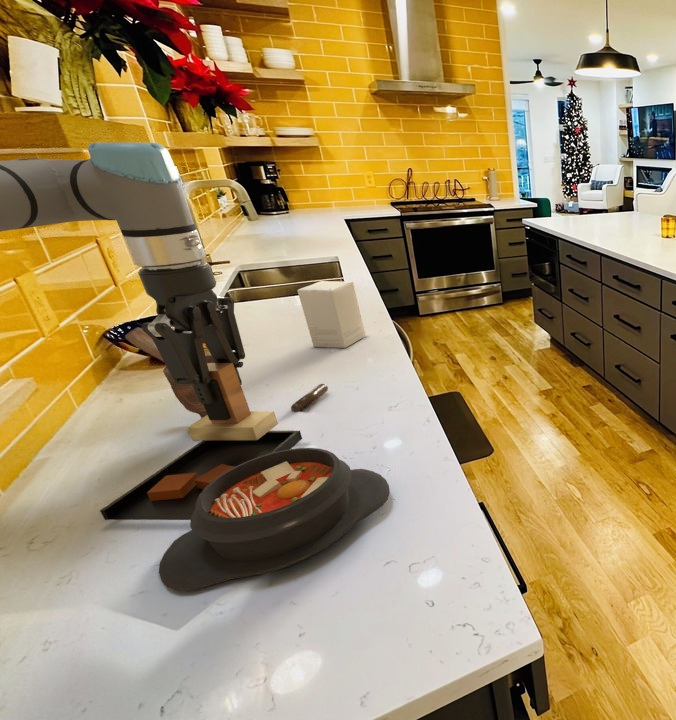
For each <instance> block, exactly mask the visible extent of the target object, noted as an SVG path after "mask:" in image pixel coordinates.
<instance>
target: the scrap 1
mask: <svg viewBox="0 0 676 720" xmlns="http://www.w3.org/2000/svg"><path fill="white" fill-rule="evenodd" d="M198 477H199V476H198V474H197V473H187V474H177V475H166V476H165V477H164V478H163V479H162V480H161V481H159V482H158V483H157V484H156V485H155V486H154V487H153V488H152V489H150V490H149V491H148V492H147V494H148V496H149V498H150V500H151V501H157V500H167V499H177V498H183V497H184V496H185V495H187V494H188V493H189V492H190V491H191V490H192V489H193V488H194V487H195V486H196V483H195V481H194V480H195V479H196V478H198Z"/></svg>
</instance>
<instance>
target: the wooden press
mask: <svg viewBox="0 0 676 720" xmlns="http://www.w3.org/2000/svg"><path fill="white" fill-rule="evenodd" d="M207 365H208V369H209V373H210V378H211V380H217V382H218V385H219V387H220V390H221V393H222V395H223V398H224V401H225V403H226V406H227V409H228V411H229V414H230V416H231V418H230V419H228V420H209V417H208V415H206V416H205V417H203V418H201V417H200V419H198V420H196V421H195V422H193V423H192V424H190V425H189V426H187V430H188V432H189V435H190V437H191V440H192V441H203V440H258V439H259V438H261V437H262V436H263V435H265V434H266V433H267V432H268V431H272V429H274V428H275V427H276V426H278V425H279V421H278V419H277V415H276V413H275V411H274V410H270V411H269V410H250V407H249V404H248V401H247V399H246V395H245V392H244V390H243V387H242V385H240V382H239V379H238V376H237V373H236V371H235V368H234V365H233V363H207ZM197 375H198V374H197ZM244 395H245V396H244Z"/></svg>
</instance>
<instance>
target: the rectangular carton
mask: <svg viewBox="0 0 676 720" xmlns="http://www.w3.org/2000/svg"><path fill="white" fill-rule="evenodd" d="M296 291H297V294H298V297H299V298H298V299H299V300H300V304H301V305H300V306H301V308H302V312H303V314H304V318H305V321H306V325H307V329H308V331H309V335H310V339H311V342H312V346H313V347H314V348H339V349H346V348H347V347H349V346H351V345H353V344H355V343H357V342H358V341H360V340H362V339H363V338H365V337H366V336H367V333H366V330H365V327H364V326H365V325H364V322H363V317H362V313H361V309H360V306H359V302H358V296H357V292H356V289H355V285H354V281H336V280H335V281H330V280H321V281H317V282H314V283H313V284H309V285H307V286H303V287H300V288H299V289H297V290H296Z"/></svg>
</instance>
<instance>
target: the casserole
mask: <svg viewBox="0 0 676 720" xmlns="http://www.w3.org/2000/svg"><path fill="white" fill-rule="evenodd" d="M389 496H390V485H389V483H388V482H387V479H386V478H384V476H382V475H381V474H379V473H377V472H375V471H374V470H369V469H366V468H354V469H351V467H350V466H349V464H347V463H346V461H344V460H342V459H339V457H338V456H337V455H336V454H334V453H333V452H332V451H329V450H327V449H322V448H317V447H298V448H291V449H289V450H283V451H278V452H274V453H270V454H267V455H263V456H260V457H257V458H255V459H252V460H249V461H247V462H245V463H242V464H240V465H238V466H236V467H234V468H232V469H230V470H229V471H227V472H225V473H223V474H222V475H220V476H219V477H217V478H216V479H215V480H213V481H212V482H211V483H210V484H209V485H208V486H206V487H205V488H204V490H203V491H202V492H201V493H200V495H199V497H198V499H197V501H196V509H195V510H194V512H193V514H192V517H191V520H189V521H190V523H189V524H190V525H189V527H190V529H191V530H189V531H187V532H185V533H183V534H182V535H180V536H179V537H178V538H176V539H175V540H174V541H173V542H172V543H171V544H170V545H169V547H168V548H167V549H166V550H165V552H164V553H163V556H162V558H161V560H160V562H159V567H158V575H159V578H160V581H161V582H162V583H163V584H164V585H165V586H166V587H167V588H170V589H173V590H175V591H193V590H198V589H200V588H204V587H208V586H212V585H215V584H218V583H222V582H225V581H229V580H235V579H241V578H246V577H251V576H258V575H262V574H267V573H270V572H274V571H277V570H281V569H285V568H287V567H289V566H292V565H295V564H297V563H299V562H302V561H304V560H306V559H308V558H310V557H312V556H314V555H316V554H318V553H320V552H322V551H324V549H326V548H328V547H329V546H330V545H332V544H334V543H335V542H337V541H338V540H339V539H340V538H341V537H343V536H344V535H345V534H346V533H347V532H348V531H350V530H351V529H352V528H354V527H355V526H356V525H357V524H358V523H359V522H361V521H362V520H364V519H366V518H368V517H369V516H370V515H372V514H373V513H375V512H376V511H378V510H379V509H380V508H382V507H383V506H384V504H386V502H387V501H388V499H389Z"/></svg>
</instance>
